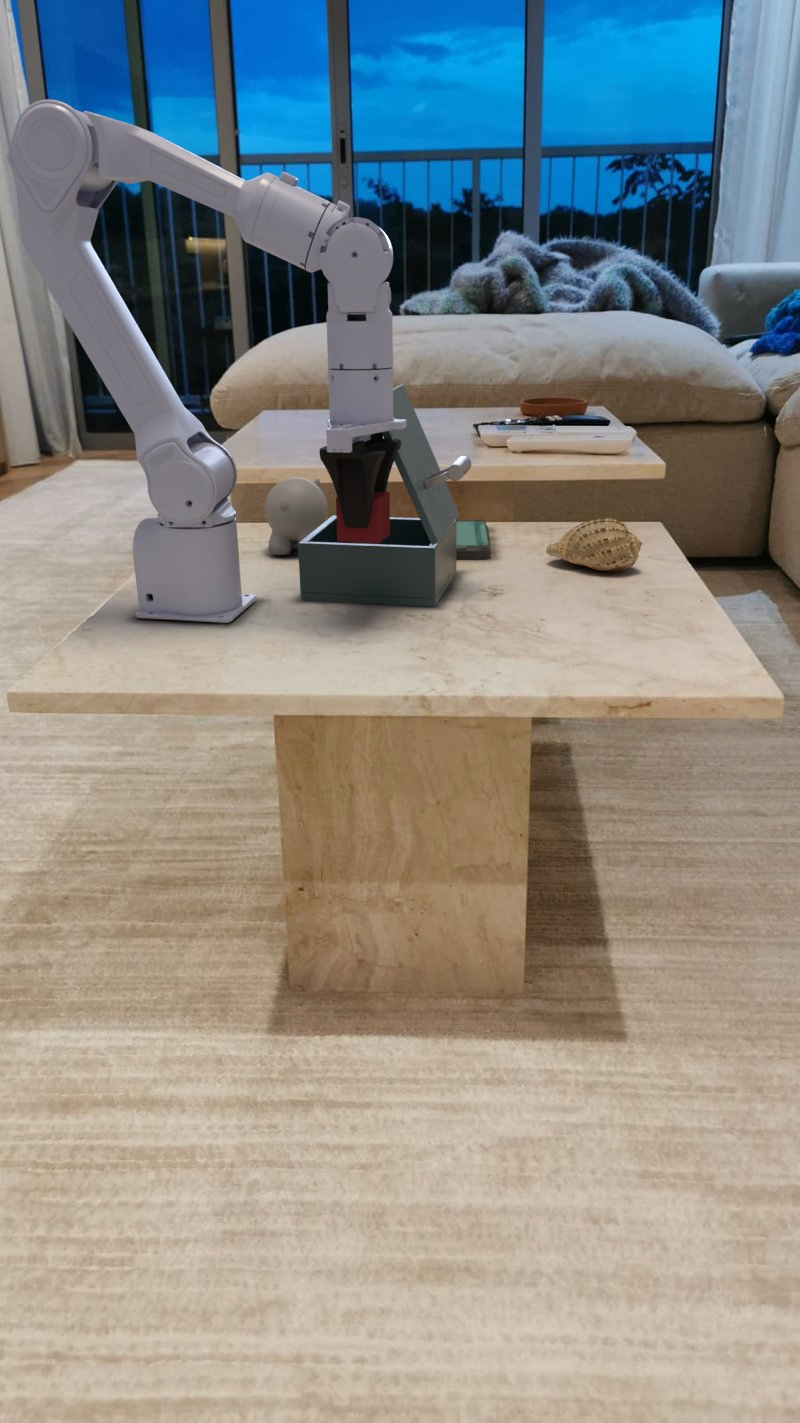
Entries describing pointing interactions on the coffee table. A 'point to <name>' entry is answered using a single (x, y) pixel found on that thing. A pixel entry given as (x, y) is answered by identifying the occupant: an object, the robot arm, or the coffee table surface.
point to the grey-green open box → (377, 566)
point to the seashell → (598, 545)
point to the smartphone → (472, 540)
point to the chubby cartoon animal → (294, 512)
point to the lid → (424, 470)
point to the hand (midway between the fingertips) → (363, 522)
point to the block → (377, 522)
